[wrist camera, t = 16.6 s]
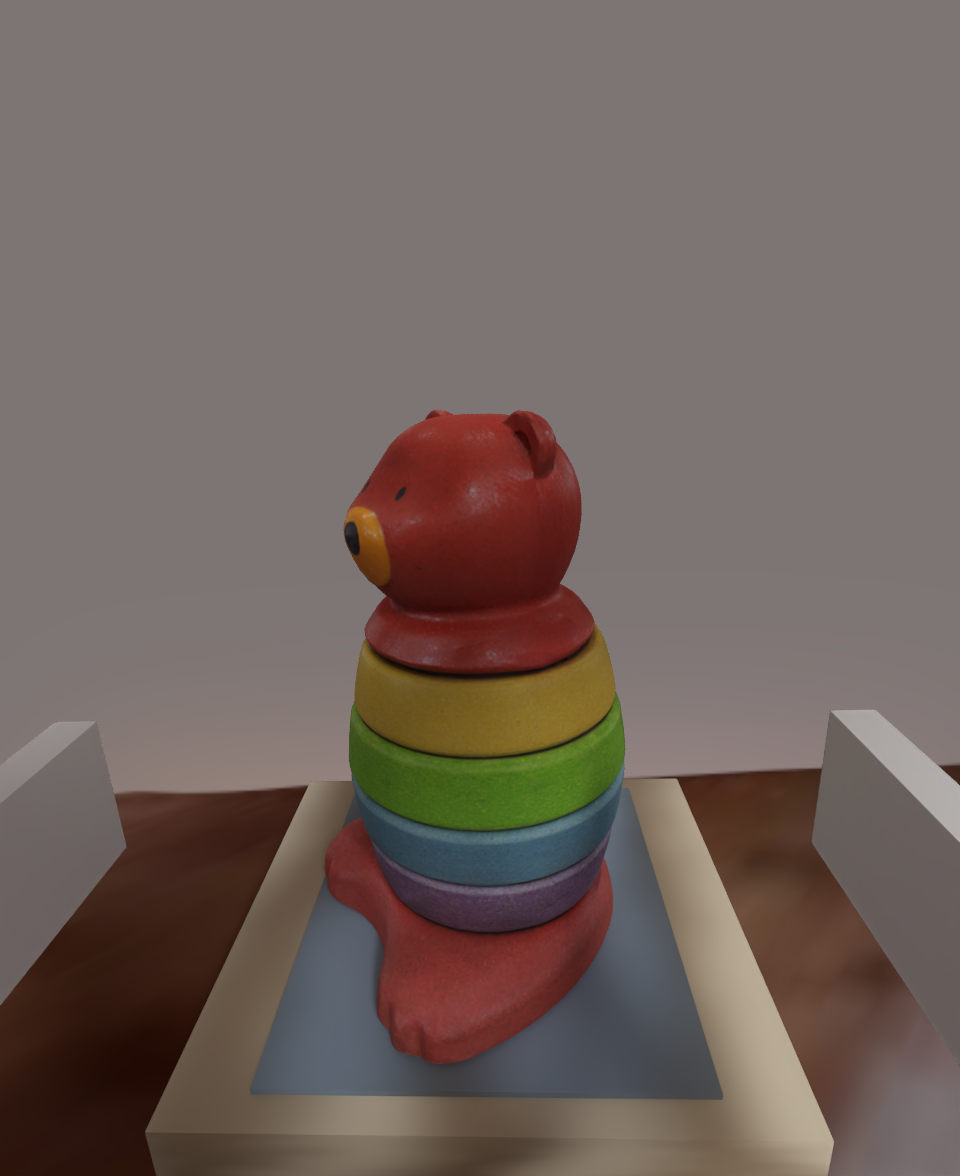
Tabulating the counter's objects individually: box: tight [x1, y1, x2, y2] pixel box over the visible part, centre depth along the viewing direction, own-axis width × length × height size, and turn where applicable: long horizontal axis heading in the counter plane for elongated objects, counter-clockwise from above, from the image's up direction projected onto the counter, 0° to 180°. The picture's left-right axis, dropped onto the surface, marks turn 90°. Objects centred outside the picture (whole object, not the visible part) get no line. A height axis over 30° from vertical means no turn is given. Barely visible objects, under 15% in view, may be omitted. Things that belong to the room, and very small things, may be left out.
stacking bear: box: [324, 410, 625, 1064], centre depth 22 cm, size 11×10×18 cm
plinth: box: [145, 779, 834, 1176], centre depth 25 cm, size 18×16×3 cm
